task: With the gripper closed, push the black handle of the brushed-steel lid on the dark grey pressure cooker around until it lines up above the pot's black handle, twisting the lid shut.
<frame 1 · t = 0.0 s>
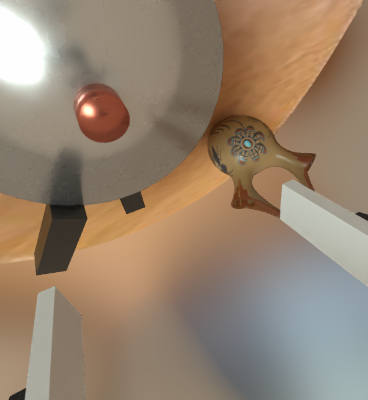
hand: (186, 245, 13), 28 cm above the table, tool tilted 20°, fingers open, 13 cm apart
pressure cooker: (67, 39, 26), on the table
cooker lid: (83, 162, 20), point 16 cm above the table, hinge at -35.0°
ceramic vessel: (222, 127, 47), on the table
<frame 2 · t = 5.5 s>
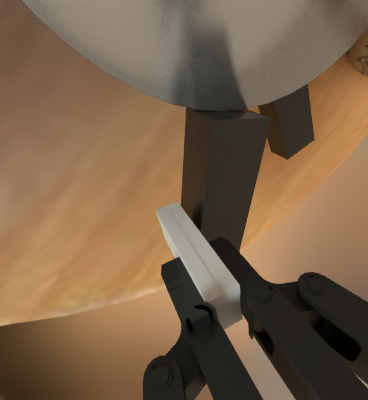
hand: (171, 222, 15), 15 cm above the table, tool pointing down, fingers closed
ceramic vessel: (360, 31, 31), on the table
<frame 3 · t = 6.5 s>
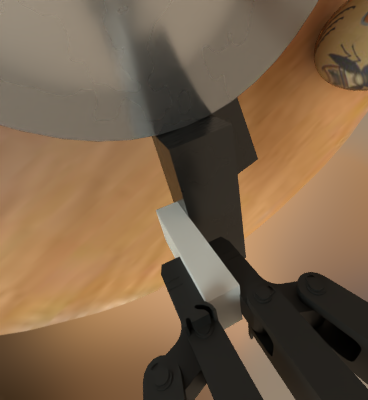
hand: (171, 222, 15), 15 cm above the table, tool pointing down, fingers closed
ceramic vessel: (328, 37, 30), on the table
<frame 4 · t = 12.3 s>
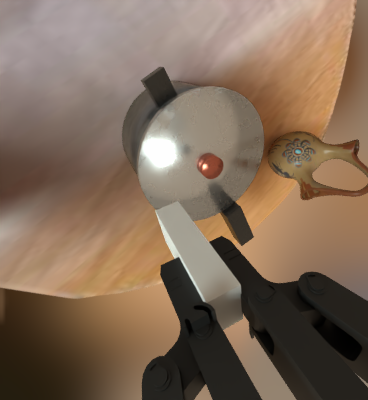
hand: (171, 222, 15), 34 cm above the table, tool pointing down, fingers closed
pressure cooker: (172, 136, 49), on the table
cooker lid: (218, 186, 39), point 16 cm above the table, hinge at -1.3°
ceramic vessel: (275, 146, 62), on the table
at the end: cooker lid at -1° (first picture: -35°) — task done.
